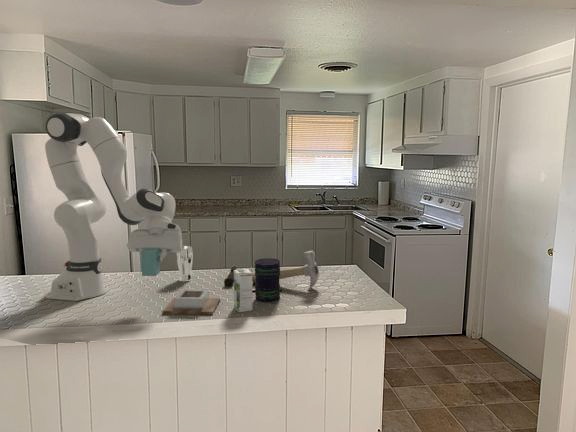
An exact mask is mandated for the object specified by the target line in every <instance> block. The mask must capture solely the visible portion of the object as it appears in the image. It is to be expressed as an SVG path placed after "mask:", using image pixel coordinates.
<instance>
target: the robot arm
mask: <svg viewBox="0 0 576 432" xmlns="http://www.w3.org/2000/svg"><path fill="white" fill-rule="evenodd" d="M44 127H45V131H46V133H47V135H48V136H49V139H48V140H46V142H45V144H44V148H45V156H46V160H47V163H48V167H49V170H50V173H51V176H52V178H53V181H54V184H55V186H56V188H57V190H59V191H60V192H62V193H63V195H64V196H65V197H66V198H67V200H66V201H63V202H62V203H60V204H59V205H58V206H56V208H55V209H54V212H53V219H54V220H55V223H56V224H57V225H58V226H59V227H61V229H62V230H63V232H64V235H65V238H66V239H67V240H66V241H67V245H68V246H67V247H68V256H69V260H68V261H66V262H65V263H63V267H66V269H65V270H64V271H63V272H61V274H58V276H57V277H55V278H54V279H53V280H52V282H51V287H50V290H49V291H47V292H46V293H45V296H44V298H45V299H49V300H60V301H71V302H76V301H77V302H78V301H82V300H85V299H91V298H95V297H99V296H102V295H103V294H105V293H107V289H106V285H105V283H104V280H103V275H102V271H103V267H102V266H103V265H102V258H101V257H100V255H101V254H100V241H99V238H98V237H97V236H95V234H94V231H93V229H92V225H91V224H94V223H96V222H98V221H100V220H101V219H102V218H103V217H104V216H105V215H106V212H107V207H106V203H105V202H104V201H103V200H102V199H101V198H100V197H98V196H97V194H96V192H95V191H94V190H93V188H92V186H91V185H90V183H89V181H88V179H87V178H86V174H85V172H84V169H83V166H82V163H81V160H80V158H79V154H78V151H77V150H78V146H79V147H82V146H84V145H85V144H86V143H87V144H88V145H89V146H90V148H91V150H92V152H93V154H94V155H95V157H96V159H97V161H98V164H99V167H100V172H101V176H102V179H103V181H104V184H105V185H106V187H107V189H108V191H109V194H110V196H111V198H112V200H113V202H114V204H115V207H116V211H117V215H118V217H119V219H120V220H121V221H122V222H123V223H124V224H126V225H130V226H137V225H139V224H140V223H141V222H142V221H144V219H145V218H148V223H147V227H146V229H144V228H143V229H137V228H136V229H134V230H133V231H131V232H130V236H129V239H128V241H127V243H126V247H127V249H128V250H129V252H130V253H131V252H132V253H133V252H134V253H135V252H136V253H139V255H140V257H139V260H140V262H141V251H143V250H144V249H159V253H161V254H159V256H158V258H157V261H158V262H161V263H162V262H163V259H164V258H165V257H166V256H167V255H168V253H175V254H177V253H179V252H180V251H181V250H182V246H183V238H182V236H183V233H182V229H181V228H180V226H179V225H178V224H176V223H172V222H173V220H174V217H175V213H176V200H175V197H174V196H173V195H172V194H170V193H168V192H155V191H154V190H152V189H150V188H141V189H139V190H137V191H136V192H134V193H133V194H132V195H131V196H130V194H129V192H128V189H127V187H126V186H125V184H124V182H123V179H122V172H123V168H124V166H125V163H126V160H127V158H128V151H127V147H126V146H125V144H124V142H123V140H122V139H121V137H120V136H119V134H118V133H117V131H116V130H115V129H114V128H113V126H112V125H111V123H109V122H108V121H107V120H106V119H105V118H103V117H100V116H95V117H90V116H88V115H87V114H80V113H73V112H69V113H63V112H57V113H54V114H52V115H50V116H49V117H48V118H47V119H46V121H45V126H44Z"/></svg>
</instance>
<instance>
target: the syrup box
mask: <svg viewBox="0 0 576 432" xmlns="http://www.w3.org/2000/svg"><path fill="white" fill-rule="evenodd" d="M236 269H237V268H236ZM252 273H253V272H252V270H251V271H250V268H238V269H237V270H234V283H233V308H234V310H235V311H236V312H237V313H244V312H250V311H253V281H252Z"/></svg>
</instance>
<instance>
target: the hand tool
mask: <svg viewBox="0 0 576 432" xmlns="http://www.w3.org/2000/svg"><path fill="white" fill-rule="evenodd" d="M234 270H237V266H232V267H231V268H230V272H229V274H228V275H227V277H226V278H225V279H224V282H223V284H224V286H225V287H226V288H229V287H231V288H232V287H234Z"/></svg>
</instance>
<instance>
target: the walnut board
mask: <svg viewBox="0 0 576 432" xmlns="http://www.w3.org/2000/svg"><path fill="white" fill-rule="evenodd" d="M175 298H176V297H173V298H172V299H171V300H170V302H169V303H167V305H166V306H165V308H164V309H163V310H161V311H162V315H173V314H213V313H215V312H216V310H217V308H218V307H219V305H220V303H221V298H220V297H219V298H218V297H217V298H214V297H213V298H212V297H211V298H210V297H209V301H208V302H207V304H206V305H205V307H204V308H203V310H199V309H175ZM217 306H218V307H217ZM213 315H214V314H213Z"/></svg>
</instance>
